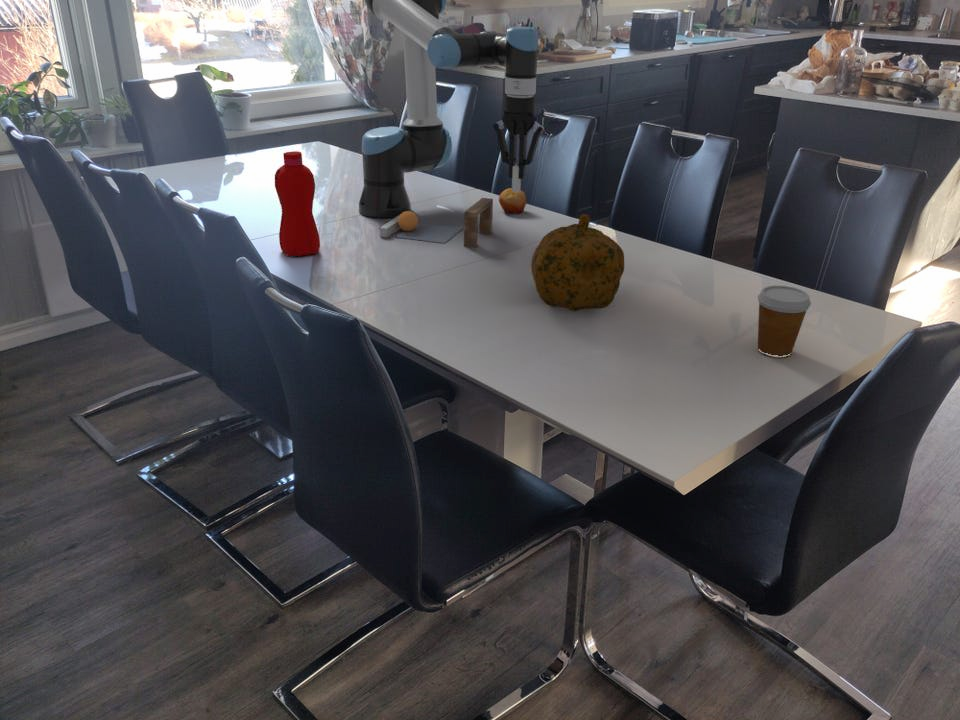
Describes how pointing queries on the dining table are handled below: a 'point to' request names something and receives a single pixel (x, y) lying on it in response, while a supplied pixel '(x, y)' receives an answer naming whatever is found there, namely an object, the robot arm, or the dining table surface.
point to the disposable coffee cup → (780, 318)
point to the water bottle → (296, 207)
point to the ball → (408, 221)
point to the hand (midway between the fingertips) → (516, 190)
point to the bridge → (471, 221)
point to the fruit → (512, 201)
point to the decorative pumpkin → (577, 267)
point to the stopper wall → (389, 227)
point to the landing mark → (430, 233)
